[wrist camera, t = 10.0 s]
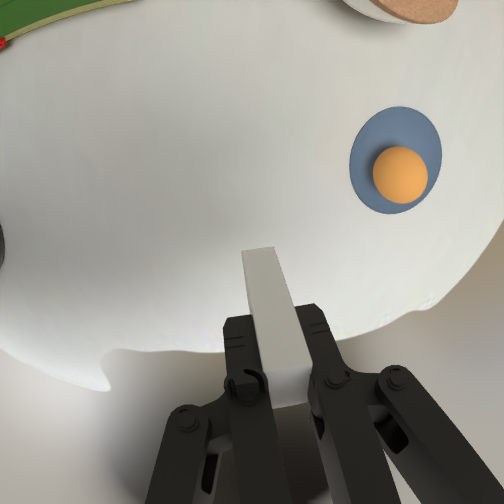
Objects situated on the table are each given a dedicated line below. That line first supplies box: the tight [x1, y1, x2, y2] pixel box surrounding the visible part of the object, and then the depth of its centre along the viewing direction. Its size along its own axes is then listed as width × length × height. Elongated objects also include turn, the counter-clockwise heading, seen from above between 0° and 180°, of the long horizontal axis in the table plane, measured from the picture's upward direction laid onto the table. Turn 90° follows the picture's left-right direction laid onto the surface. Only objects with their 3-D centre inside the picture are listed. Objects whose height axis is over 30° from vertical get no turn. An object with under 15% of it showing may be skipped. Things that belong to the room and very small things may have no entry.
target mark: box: [350, 107, 442, 214], centre depth 27 cm, size 12×12×1 cm
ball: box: [373, 146, 428, 204], centre depth 25 cm, size 6×6×6 cm
